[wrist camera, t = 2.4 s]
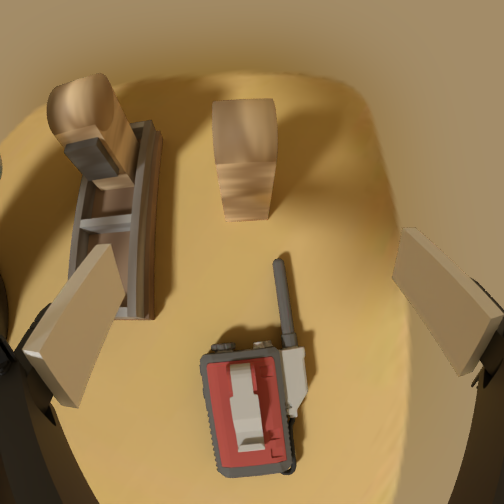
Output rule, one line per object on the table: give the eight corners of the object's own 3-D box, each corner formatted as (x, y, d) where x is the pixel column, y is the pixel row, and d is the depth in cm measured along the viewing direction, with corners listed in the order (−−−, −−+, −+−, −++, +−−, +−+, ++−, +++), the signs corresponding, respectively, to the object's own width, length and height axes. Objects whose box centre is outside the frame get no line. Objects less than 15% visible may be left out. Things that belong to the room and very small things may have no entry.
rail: (81, 319, 25) (-21, 295, 12) (101, 148, 31) (50, 67, 18) (154, 319, 26) (70, 297, 12) (162, 138, 31) (128, 42, 18)
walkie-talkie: (313, 463, 22) (287, 261, 28) (324, 482, 18) (294, 246, 24) (220, 475, 22) (193, 272, 27) (216, 496, 18) (184, 259, 23)
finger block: (225, 222, 28) (211, 141, 16) (224, 170, 30) (212, 80, 18) (267, 219, 29) (280, 138, 17) (262, 168, 30) (270, 77, 18)
